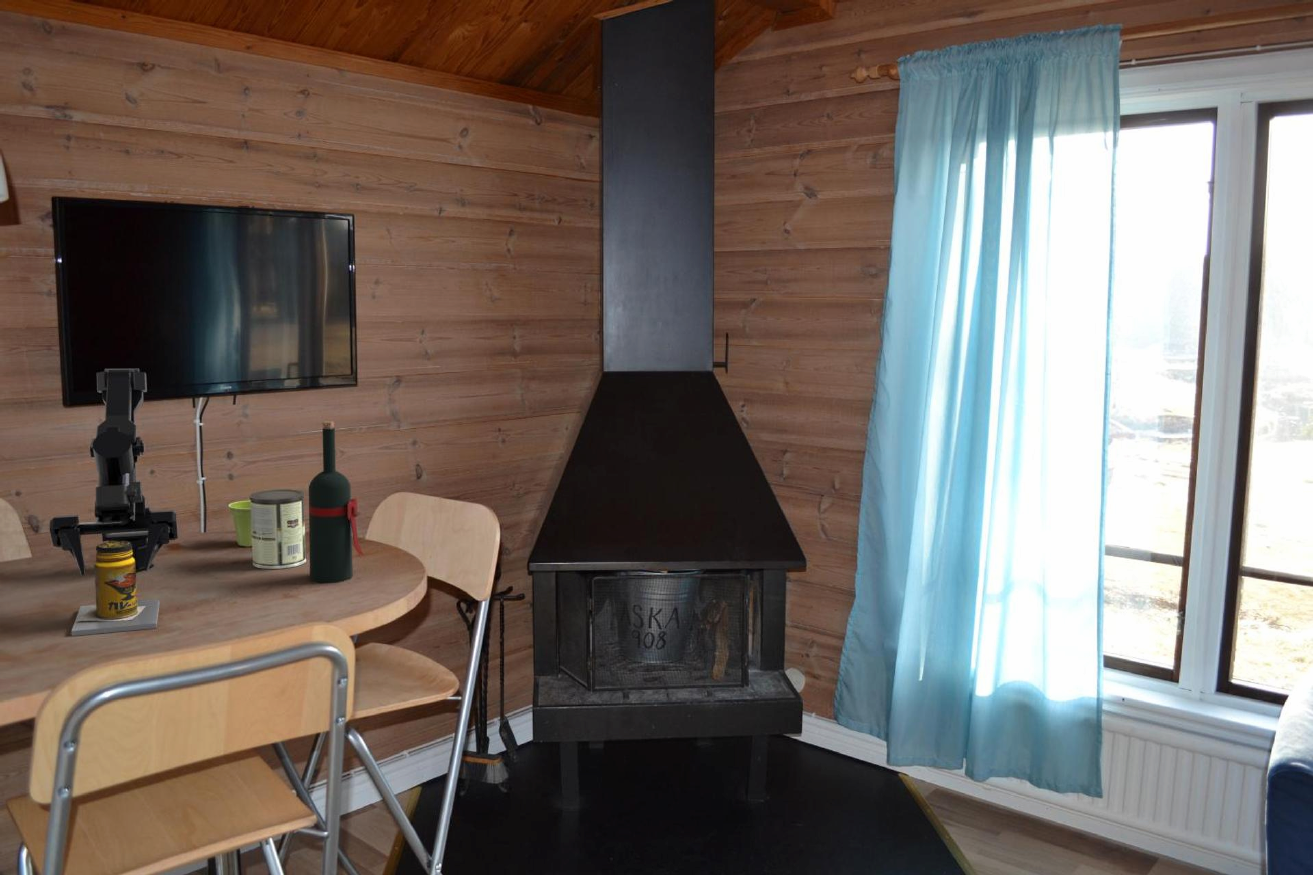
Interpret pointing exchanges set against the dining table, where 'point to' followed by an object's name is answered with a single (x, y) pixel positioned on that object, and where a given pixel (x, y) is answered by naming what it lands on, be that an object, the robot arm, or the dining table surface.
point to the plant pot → (242, 522)
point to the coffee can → (278, 528)
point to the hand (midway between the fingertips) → (114, 571)
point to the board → (141, 621)
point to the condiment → (114, 583)
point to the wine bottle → (331, 518)
